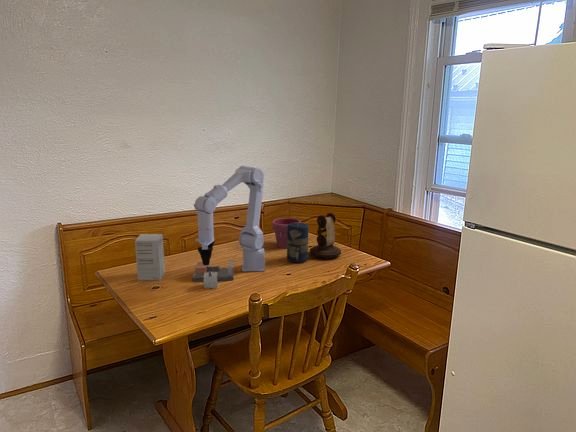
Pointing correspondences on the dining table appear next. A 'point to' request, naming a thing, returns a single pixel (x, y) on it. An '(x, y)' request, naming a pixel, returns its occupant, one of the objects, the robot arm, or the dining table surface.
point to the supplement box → (149, 256)
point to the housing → (210, 280)
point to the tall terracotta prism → (201, 268)
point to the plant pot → (282, 230)
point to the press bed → (222, 273)
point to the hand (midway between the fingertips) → (207, 261)
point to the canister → (297, 242)
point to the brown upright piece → (326, 238)
